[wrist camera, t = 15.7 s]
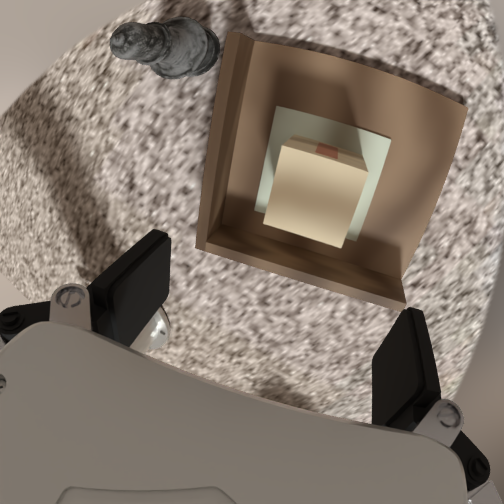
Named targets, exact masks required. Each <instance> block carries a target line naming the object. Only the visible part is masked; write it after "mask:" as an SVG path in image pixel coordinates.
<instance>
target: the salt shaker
mask: <svg viewBox="0 0 504 504" xmlns="http://www.w3.org/2000/svg"><path fill="white" fill-rule="evenodd" d="M110 48H111V51H112V53H113V54H114V55H115V56H116V57H118V58H120V59H125V60H136V61H137V62H138V63H140V64H142V65H150V67H151V69H152V70H153V71H154V72H155V73H156V74H157V75H159V76H161V77H163V78H167V79H180V78H182V77H185V76H189V77H190V76H198V75H201V74H204V73H205V72H207V71H209V70H210V69H211V68H212V67H213V66H214V64H215V63H216V61H217V59H218V56H219V53H220V44H219V40H218V38H217V36H216V35H215V33H213V32H212V31H211V30H210V29H208V28H205V27H202V25H200V24H199V23H198V22H197V21H196V20H193V19H191V18H188V17H175V18H171V19H169V20H167V21H165V22H163V23H159V22H151V23H147V24H141V23H137V22H128V23H124V24H122V25H120V26H119V27H118V28H117V29H116V30H115V31H114V32H113V34H112V36H111V38H110Z"/></svg>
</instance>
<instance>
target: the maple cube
mask: <svg viewBox="0 0 504 504" xmlns="http://www.w3.org/2000/svg"><path fill="white" fill-rule="evenodd" d="M368 173H369V172H368V169H367V166H366V163H365V160H364V158H363V155H360V154H358V153H355V152H352V151H349V150H346V149H342V148H339V147H336V146H333V145H330V144H327V143H323V142H320V141H317V140H313V139H310V138H306V137H303V136H299V135H296V134H294V135H293V136H292V137H291V138H290V139H288V140H287V141H286V142H285V143H284V144H283V145H282V147H281V151H280V155H279V160H278V164H277V168H276V172H275V176H274V180H273V185H272V189H271V193H270V197H269V201H268V205H267V210H266V214H265V218H264V222H263V224H266V225H269V226H272V227H276V228H279V229H282V230H285V231H288V232H292V233H295V234H298V235H301V236H304V237H307V238H311V239H314V240H317V241H320V242H323V243H326V244H329V245H332V246H335V247H338V248H341V247H342V245H343V242H344V240H345V237H346V235H347V232H348V229H349V227H350V224H351V221H352V219H353V216H354V213H355V210H356V208H357V205H358V202H359V199H360V196H361V194H362V191H363V188H364V185H365V182H366V179H367V176H368Z"/></svg>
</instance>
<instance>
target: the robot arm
mask: <svg viewBox="0 0 504 504" xmlns="http://www.w3.org/2000/svg"><path fill="white" fill-rule="evenodd" d="M170 258H171V238H169V237H168V234H167V233H166V232H163V231H159V230H156V229H153V230H152V231H150V232H149V233H148V234H147V235H145V236H144V237H143V238H142V239H141V240H140V241H138V242H137V243H136V244H135V245H134V246H132V247H131V248H130V249H129V250H128V251H127V252H125V253H124V254H123V255H122V256H121V257H120V258H119V259H117V260H116V261H115V262H114V263H113V264H112V265H111V266H109V267H108V268H107V269H106V270H105V271H104V272H103V273H102V274H101V275H99V276H98V277H97V278H96V279H95V280H94V281H93V282H92V283H91V284H90V285H89V286H88V287H87V288H85V287H84V286H82V285H80V284H73V283H70V284H65V285H63V286H60V287H59V288H57V289H56V290H55V291H54V293H53V294H52V297H51V301H46V302H39V303H32V304H26V305H19V306H13V307H9V308H6V309H5V310H3V311H2V312H1V313H0V504H503V503H502V500H501V498H500V496H499V494H498V492H497V490H496V488H495V486H494V484H493V482H492V481H490V482H489V481H488V478H489V475H490V465H489V462H488V460H487V458H486V457H485V456H484V455H483V453H482V452H481V451H480V450H479V449H478V448H477V447H476V446H475V445H474V444H473V443H472V442H471V440H470V439H469V438H468V437H467V436H466V435H465V434H464V433H463V432H462V431H461V429H462V426H463V424H464V417H463V413H462V411H461V409H460V408H459V406H458V405H457V404H456V403H454V402H453V401H451V400H448V399H441V389H440V383H439V378H438V373H437V368H436V363H435V358H434V354H433V349H432V345H431V341H430V337H429V333H428V329H427V325H426V321H425V317H424V314H423V311H422V310H419V309H415V308H412V307H408V308H407V309H403V310H402V312H401V313H400V315H399V317H398V318H397V320H396V322H395V323H394V325H393V326H392V328H391V330H390V331H389V333H388V334H387V336H386V338H385V339H384V341H383V342H382V344H381V345H380V347H379V348H378V350H377V351H376V353H375V354H374V356H373V359H372V424H368V423H363V422H358V421H354V420H349V419H344V418H339V417H335V416H330V415H326V414H322V413H317V412H313V411H309V410H305V409H301V408H298V407H294V406H290V405H287V404H283V403H279V402H276V401H272V400H269V399H266V398H262V397H259V396H256V395H253V394H249V393H246V392H243V391H240V390H237V389H234V388H231V387H228V386H225V385H222V384H219V383H217V382H214V381H211V380H208V379H205V378H203V377H200V376H197V375H195V374H192V373H189V372H187V371H184V370H182V369H179V368H177V367H174V366H172V365H169V364H167V363H164V362H162V361H160V360H157V359H155V358H153V357H150V356H148V355H146V354H145V353H146V352H147V350H148V349H157V348H160V347H162V346H163V345H164V344H165V343H166V341H167V340H168V338H169V336H170V325H169V322H168V319H167V316H166V315H165V313H164V311H163V309H162V308H161V305H162V304H163V303H164V301H165V300H166V299H167V297H168V294H169V283H170Z"/></svg>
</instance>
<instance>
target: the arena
mask: <svg viewBox="0 0 504 504" xmlns="http://www.w3.org/2000/svg"><path fill="white" fill-rule="evenodd" d="M467 111H468V108H467V107H465V106H464V105H462V104H460V103H458V102H456V101H454V100H452V99H449V98H447V97H445V96H443V95H441V94H439V93H437V92H434V91H432V90H430V89H427V88H425V87H423V86H420V85H418V84H416V83H413V82H411V81H408V80H406V79H403V78H400V77H398V76H395V75H392V74H389V73H387V72H384V71H381V70H378V69H375V68H372V67H369V66H366V65H362V64H359V63H356V62H353V61H349V60H346V59H342V58H338V57H334V56H331V55H327V54H323V53H318V52H314V51H310V50H305V49H300V48H295V47H290V46H285V45H279V44H273V43H267V42H260V41H254V40H253V39H251V38H249V37H247V36H246V35H244V34H242V33H238V32H228V33H227V38H226V43H225V48H224V53H223V58H222V63H221V68H220V74H219V79H218V85H217V91H216V96H215V102H214V108H213V114H212V121H211V127H210V134H209V140H208V147H207V154H206V161H205V168H204V176H203V184H202V191H201V200H200V208H199V217H198V226H197V235H196V245H195V248H196V249H199V250H203V251H206V252H209V253H212V254H215V255H218V256H221V257H224V258H228V259H231V260H234V261H237V262H240V263H243V264H246V265H250V266H253V267H256V268H259V269H262V270H265V271H269V272H272V273H275V274H278V275H281V276H285V277H288V278H291V279H294V280H298V281H301V282H304V283H307V284H310V285H314V286H317V287H320V288H323V289H327V290H330V291H333V292H337V293H340V294H343V295H346V296H350V297H353V298H356V299H360V300H363V301H366V302H370V303H373V304H376V305H380V306H383V307H386V308H390V309H393V310H396V311H400V312H402V310H403V309H404V308H405V306H406V299H405V294H404V290H403V285H402V281H401V279H402V277H403V275H404V273H405V271H406V269H407V267H408V265H409V263H410V261H411V259H412V257H413V255H414V253H415V251H416V249H417V247H418V245H419V242H420V240H421V238H422V236H423V234H424V231H425V229H426V227H427V225H428V222H429V220H430V218H431V215H432V213H433V211H434V208H435V206H436V203H437V201H438V198H439V196H440V193H441V191H442V188H443V185H444V183H445V180H446V177H447V175H448V172H449V169H450V166H451V163H452V160H453V157H454V154H455V151H456V148H457V145H458V142H459V139H460V136H461V132H462V129H463V125H464V122H465V118H466V115H467ZM294 134H296V135H299V136H303V137H306V138H310V139H313V140H317V141H320V142H323V143H327V144H330V145H333V146H336V147H339V148H342V149H346V150H349V151H352V152H355V153H358V154H360V155H363V158H364V160H365V163H366V166H367V169H368V172H369V173H368V176H367V179H366V182H365V185H364V188H363V191H362V194H361V196H360V199H359V202H358V205H357V208H356V210H355V213H354V216H353V219H352V221H351V224H350V227H349V229H348V232H347V235H346V237H345V240H344V242H343V245H342V247H341V248H338V247H335V246H332V245H329V244H326V243H323V242H320V241H317V240H314V239H311V238H307V237H304V236H301V235H298V234H295V233H292V232H288V231H285V230H282V229H279V228H276V227H272V226H269V225H266V224H263V222H264V218H265V214H266V210H267V205H268V201H269V197H270V193H271V189H272V185H273V180H274V176H275V172H276V168H277V164H278V160H279V155H280V151H281V147H282V145H283V144H284V143H285V142H286V141H287V140H288V139H290V138H291V137H292V136H293V135H294Z"/></svg>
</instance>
